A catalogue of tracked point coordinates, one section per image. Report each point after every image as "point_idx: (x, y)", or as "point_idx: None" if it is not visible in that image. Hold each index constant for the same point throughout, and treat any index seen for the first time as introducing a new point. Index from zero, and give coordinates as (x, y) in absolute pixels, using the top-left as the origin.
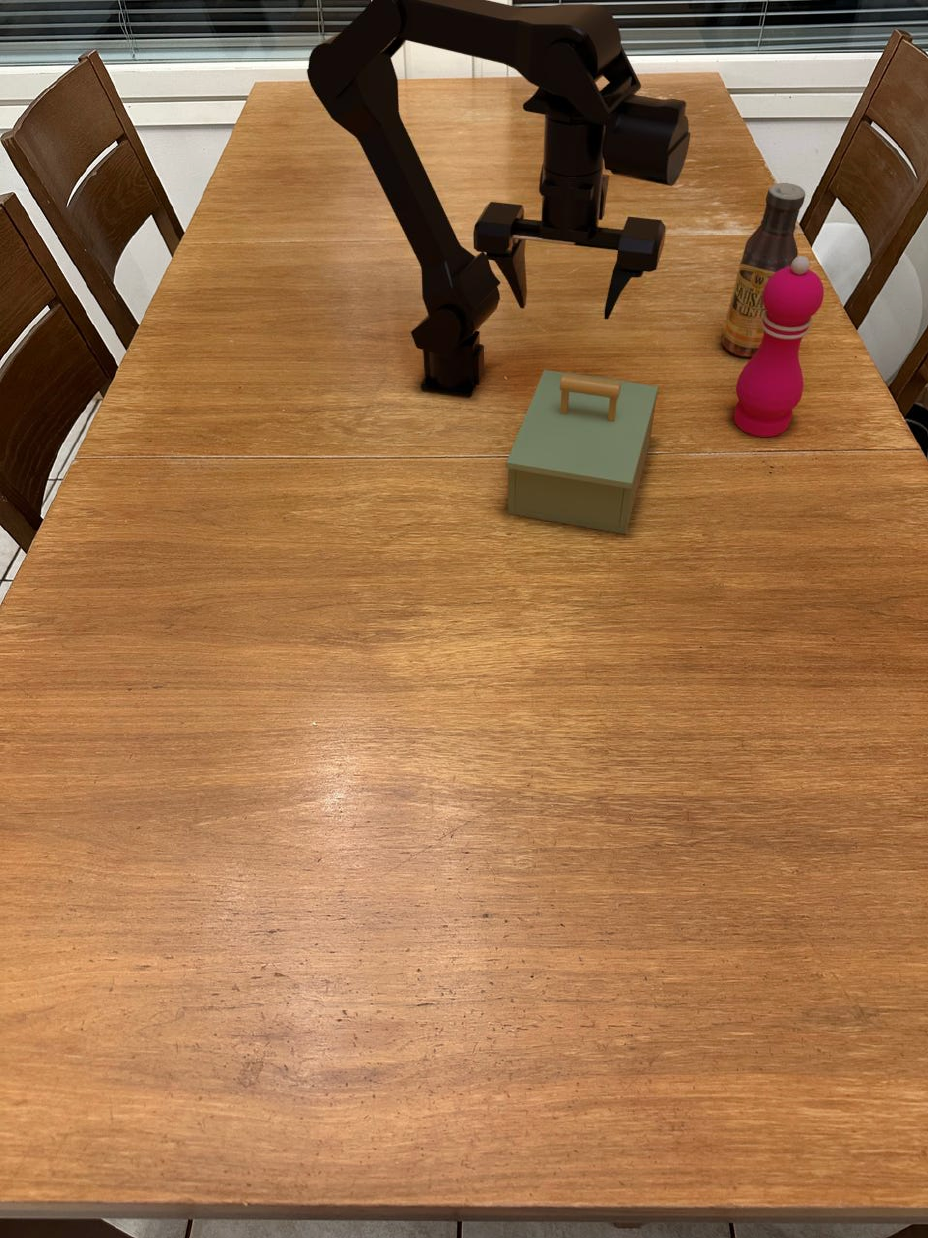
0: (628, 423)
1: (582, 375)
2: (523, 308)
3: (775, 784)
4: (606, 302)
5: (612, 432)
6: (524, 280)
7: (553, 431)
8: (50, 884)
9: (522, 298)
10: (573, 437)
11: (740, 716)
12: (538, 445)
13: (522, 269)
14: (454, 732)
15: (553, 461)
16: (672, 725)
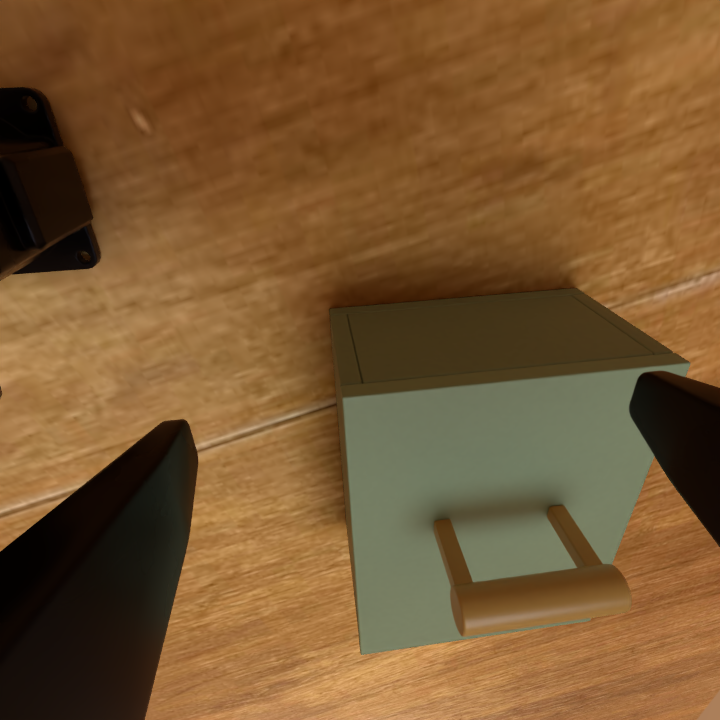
0: (593, 508)
1: (467, 388)
2: (197, 462)
3: (651, 663)
4: (716, 542)
5: (556, 540)
6: (127, 561)
7: (430, 577)
8: None
9: (186, 543)
10: (475, 576)
11: (636, 635)
12: (409, 612)
13: (75, 698)
14: (389, 715)
15: (447, 629)
16: (574, 658)
